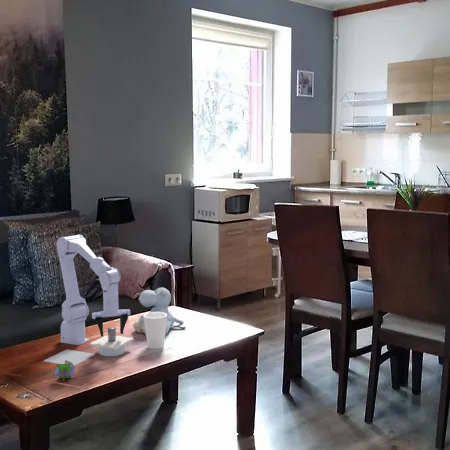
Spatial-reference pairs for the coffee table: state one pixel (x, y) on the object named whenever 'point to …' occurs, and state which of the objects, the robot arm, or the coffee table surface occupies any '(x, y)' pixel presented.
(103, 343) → the lid
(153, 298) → the light blue rounded figure
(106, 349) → the bowl
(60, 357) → the mat
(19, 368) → the coffee table surface
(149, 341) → the foam cup
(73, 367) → the geometric puzzle
